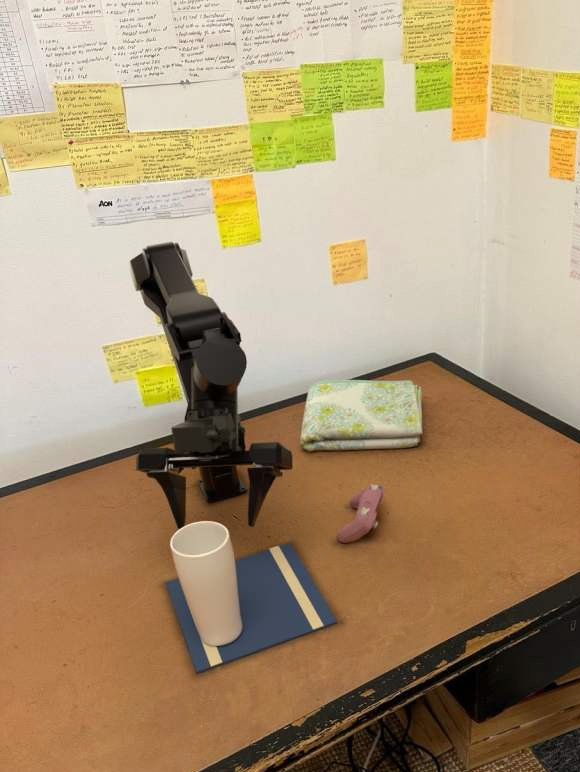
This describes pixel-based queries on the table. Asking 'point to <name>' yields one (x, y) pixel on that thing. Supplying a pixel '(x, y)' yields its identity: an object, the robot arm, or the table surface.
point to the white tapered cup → (209, 579)
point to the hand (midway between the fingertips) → (215, 527)
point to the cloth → (260, 607)
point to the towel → (362, 415)
